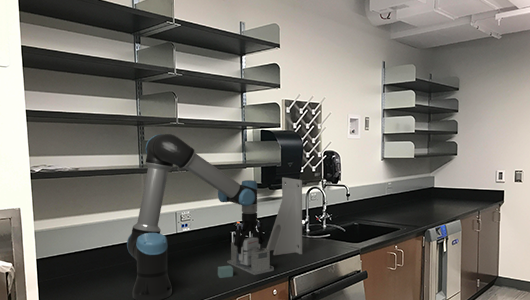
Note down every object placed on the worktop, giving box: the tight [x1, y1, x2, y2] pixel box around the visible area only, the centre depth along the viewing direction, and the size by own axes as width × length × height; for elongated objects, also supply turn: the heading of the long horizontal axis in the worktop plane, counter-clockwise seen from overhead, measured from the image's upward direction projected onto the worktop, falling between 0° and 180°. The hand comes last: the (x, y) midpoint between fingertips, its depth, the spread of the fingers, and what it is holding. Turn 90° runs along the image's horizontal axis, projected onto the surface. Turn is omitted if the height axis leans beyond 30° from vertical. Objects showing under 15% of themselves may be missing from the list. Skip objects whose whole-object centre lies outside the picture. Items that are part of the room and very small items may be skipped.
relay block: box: [217, 264, 234, 279], centre depth 189 cm, size 6×4×4 cm, turn 111°
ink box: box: [240, 236, 259, 265], centre depth 202 cm, size 8×5×12 cm, turn 141°
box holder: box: [226, 241, 275, 276], centre depth 203 cm, size 11×24×10 cm, turn 36°
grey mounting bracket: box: [265, 177, 303, 256], centre depth 230 cm, size 20×14×40 cm
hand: (249, 258), depth 203 cm, fingers closed on ink box, 9 cm apart
